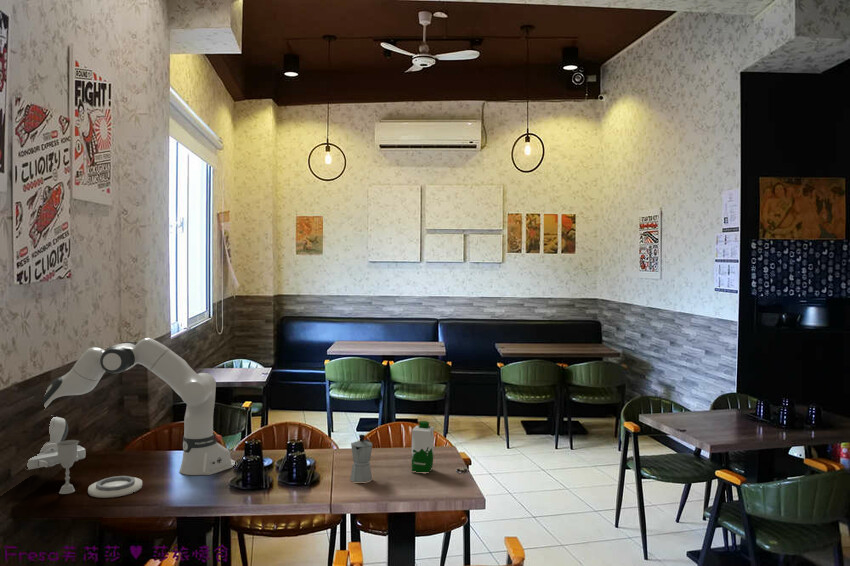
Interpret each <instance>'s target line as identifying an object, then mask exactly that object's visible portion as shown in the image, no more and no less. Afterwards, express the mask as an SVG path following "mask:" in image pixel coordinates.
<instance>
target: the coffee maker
mask: <svg viewBox="0 0 850 566" xmlns="http://www.w3.org/2000/svg"><path fill="white" fill-rule="evenodd" d="M365 436H366V434H359V436H358V437H359V440H357V441H354V442H351V444H350V445H351V447H350V448H351V455H352V456H351V457H352V461H353V463H352V465H351V466H352V467H351V473H350V478H349V479H350V480H352V481H353V482H367V481H370V480H371V479H372V480H373V477H372V469H371V463H370V461H371V457H372V450H373V442H372V441H370V439H367V438H366V439H365ZM350 480H349V481H350ZM372 480H371V481H372ZM353 482H352V483H353Z"/></svg>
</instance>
